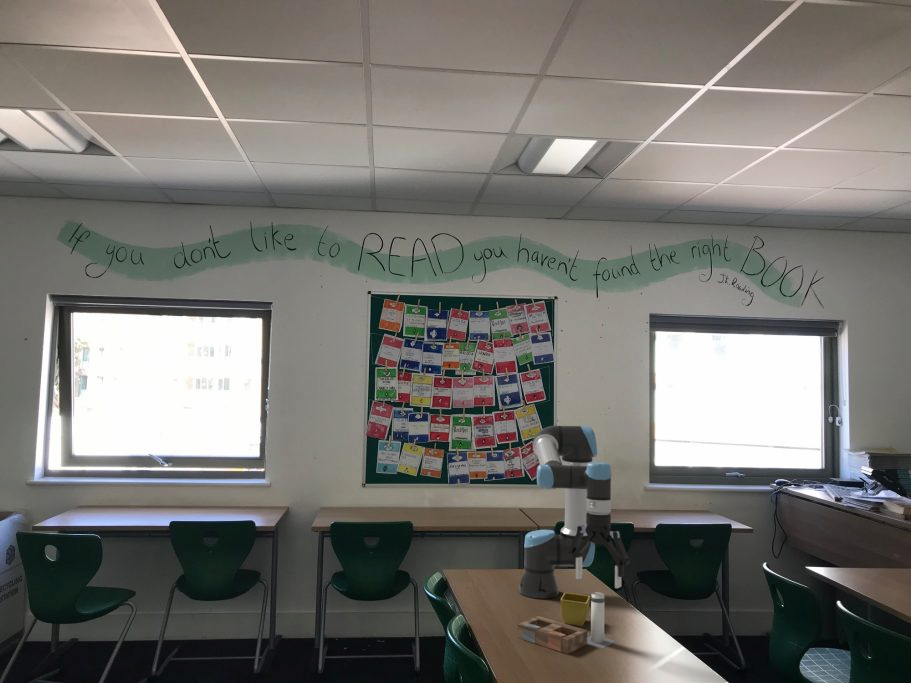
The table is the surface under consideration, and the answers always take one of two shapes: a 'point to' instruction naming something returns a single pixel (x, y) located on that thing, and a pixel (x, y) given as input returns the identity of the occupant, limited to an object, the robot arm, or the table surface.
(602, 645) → the mat
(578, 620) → the flower pot
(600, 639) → the plug
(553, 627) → the socket block
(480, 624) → the table surface
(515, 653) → the table surface
